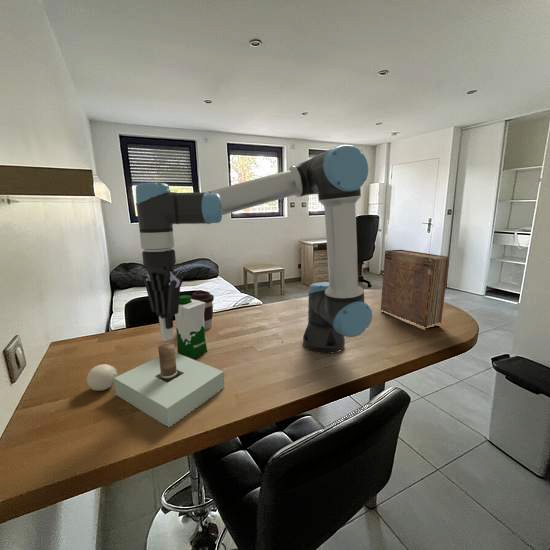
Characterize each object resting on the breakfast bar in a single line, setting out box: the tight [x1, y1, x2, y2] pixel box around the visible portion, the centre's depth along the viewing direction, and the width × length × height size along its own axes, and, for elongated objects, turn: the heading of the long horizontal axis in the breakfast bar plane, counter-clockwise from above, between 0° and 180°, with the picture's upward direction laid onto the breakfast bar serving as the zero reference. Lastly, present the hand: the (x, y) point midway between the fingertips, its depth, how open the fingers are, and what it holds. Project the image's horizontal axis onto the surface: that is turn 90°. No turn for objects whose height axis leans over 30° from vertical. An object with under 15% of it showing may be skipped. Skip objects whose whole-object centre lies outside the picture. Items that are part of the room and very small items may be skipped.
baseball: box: [86, 363, 119, 392], centre depth 79 cm, size 7×7×7 cm
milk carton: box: [174, 294, 208, 360], centre depth 97 cm, size 9×9×20 cm
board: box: [113, 351, 225, 428], centre depth 78 cm, size 22×18×5 cm
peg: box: [158, 343, 177, 383], centre depth 77 cm, size 4×4×13 cm
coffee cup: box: [190, 290, 215, 331], centre depth 120 cm, size 10×10×15 cm
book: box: [380, 249, 450, 327], centre depth 127 cm, size 25×9×30 cm, turn 23°
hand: (167, 338), depth 75 cm, fingers closed
